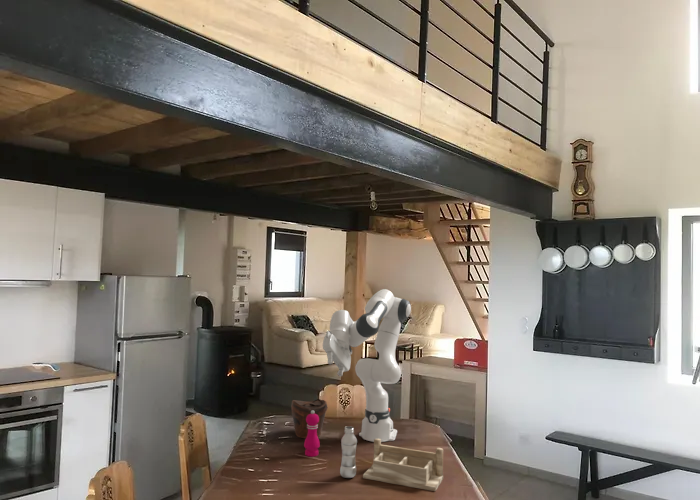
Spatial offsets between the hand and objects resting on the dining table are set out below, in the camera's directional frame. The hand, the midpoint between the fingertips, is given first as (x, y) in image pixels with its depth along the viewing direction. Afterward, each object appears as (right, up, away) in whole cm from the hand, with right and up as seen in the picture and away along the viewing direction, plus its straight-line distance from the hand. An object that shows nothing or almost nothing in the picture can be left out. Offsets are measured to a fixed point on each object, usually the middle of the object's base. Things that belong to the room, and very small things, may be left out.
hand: (335, 369), depth 224 cm
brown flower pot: (-15, -44, +50) cm, 69 cm away
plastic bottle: (+5, -44, -3) cm, 44 cm away
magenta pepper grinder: (-11, -44, +22) cm, 50 cm away
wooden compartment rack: (+28, -44, -4) cm, 52 cm away
